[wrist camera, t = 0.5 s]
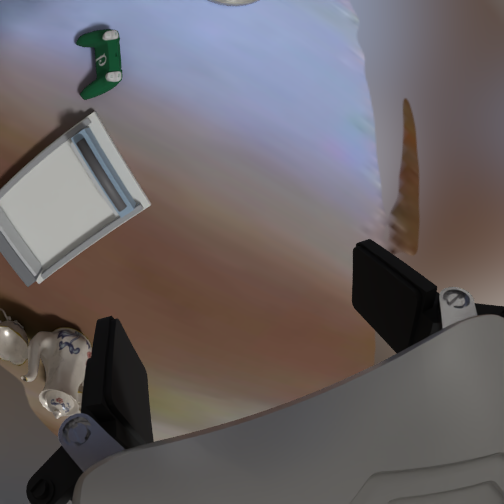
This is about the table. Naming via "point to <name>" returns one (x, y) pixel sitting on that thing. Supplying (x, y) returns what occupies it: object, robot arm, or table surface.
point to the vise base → (59, 206)
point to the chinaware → (50, 362)
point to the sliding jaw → (102, 172)
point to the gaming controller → (103, 61)
